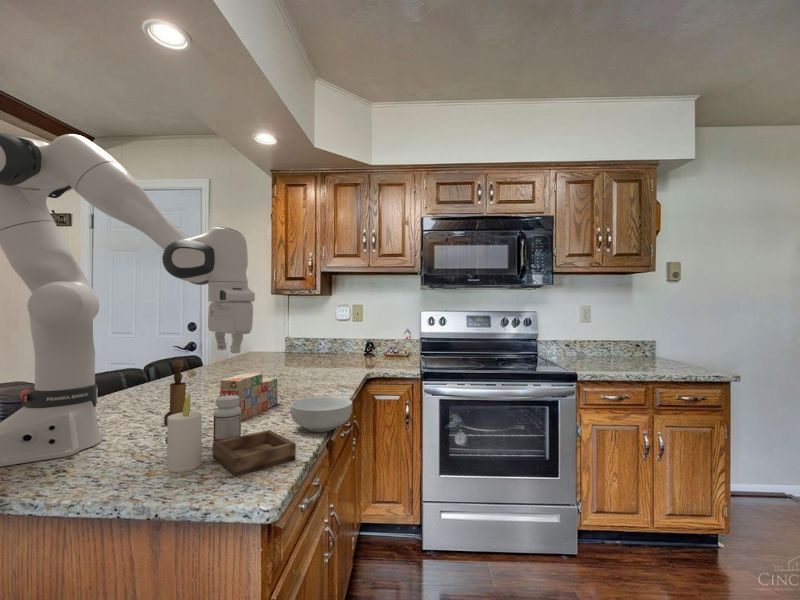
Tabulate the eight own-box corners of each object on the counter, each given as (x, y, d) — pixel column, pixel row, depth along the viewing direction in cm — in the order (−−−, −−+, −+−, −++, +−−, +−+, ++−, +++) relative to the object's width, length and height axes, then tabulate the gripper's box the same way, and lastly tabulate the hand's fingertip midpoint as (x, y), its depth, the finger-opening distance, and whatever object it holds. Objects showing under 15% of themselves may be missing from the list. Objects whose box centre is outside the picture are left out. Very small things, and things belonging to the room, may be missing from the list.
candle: (170, 462, 85) (171, 391, 85) (204, 458, 87) (204, 390, 87) (161, 473, 79) (162, 398, 79) (197, 470, 81) (198, 396, 81)
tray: (234, 476, 77) (234, 458, 77) (212, 458, 87) (212, 442, 87) (295, 459, 86) (295, 443, 86) (269, 444, 96) (269, 429, 96)
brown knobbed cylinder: (194, 421, 115) (195, 359, 116) (171, 427, 110) (172, 361, 110) (182, 417, 119) (182, 357, 119) (159, 423, 113) (160, 360, 114)
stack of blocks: (261, 404, 136) (261, 368, 137) (277, 405, 135) (278, 369, 135) (219, 421, 116) (219, 379, 116) (238, 422, 114) (238, 380, 114)
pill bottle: (220, 440, 99) (220, 394, 99) (245, 440, 99) (245, 394, 99) (208, 449, 93) (208, 400, 93) (234, 449, 93) (234, 400, 93)
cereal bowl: (326, 441, 98) (326, 412, 98) (276, 431, 106) (277, 405, 106) (364, 423, 113) (364, 399, 113) (318, 416, 121) (318, 393, 121)
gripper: (201, 295, 102) (201, 349, 102) (229, 293, 87) (229, 356, 87) (226, 295, 106) (226, 347, 106) (258, 293, 91) (258, 353, 91)
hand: (228, 351), depth 96 cm, fingers open, 8 cm apart
